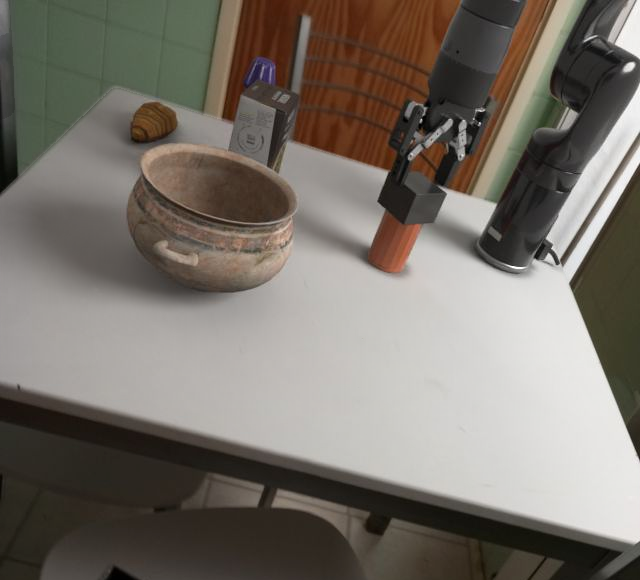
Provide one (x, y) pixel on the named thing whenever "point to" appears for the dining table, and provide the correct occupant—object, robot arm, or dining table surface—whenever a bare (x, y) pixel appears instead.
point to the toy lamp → (260, 72)
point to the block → (412, 199)
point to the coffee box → (264, 123)
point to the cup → (392, 244)
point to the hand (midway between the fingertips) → (418, 183)
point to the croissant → (152, 122)
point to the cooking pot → (211, 217)
